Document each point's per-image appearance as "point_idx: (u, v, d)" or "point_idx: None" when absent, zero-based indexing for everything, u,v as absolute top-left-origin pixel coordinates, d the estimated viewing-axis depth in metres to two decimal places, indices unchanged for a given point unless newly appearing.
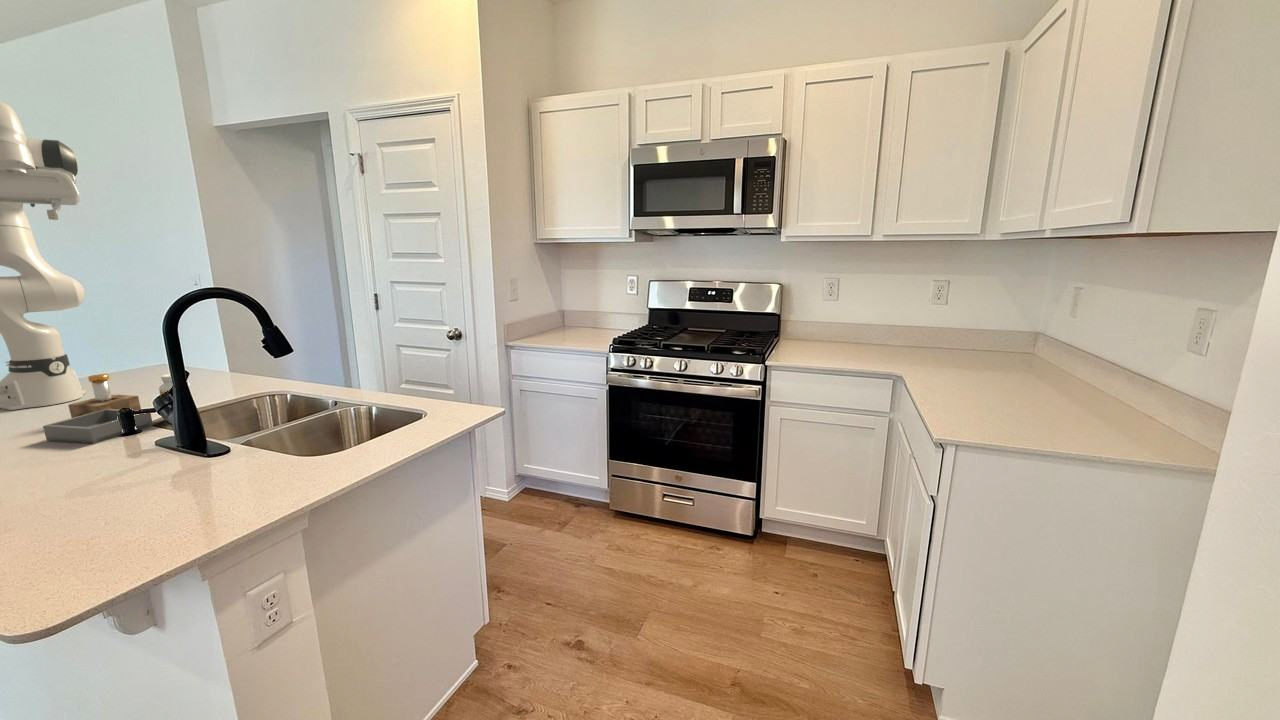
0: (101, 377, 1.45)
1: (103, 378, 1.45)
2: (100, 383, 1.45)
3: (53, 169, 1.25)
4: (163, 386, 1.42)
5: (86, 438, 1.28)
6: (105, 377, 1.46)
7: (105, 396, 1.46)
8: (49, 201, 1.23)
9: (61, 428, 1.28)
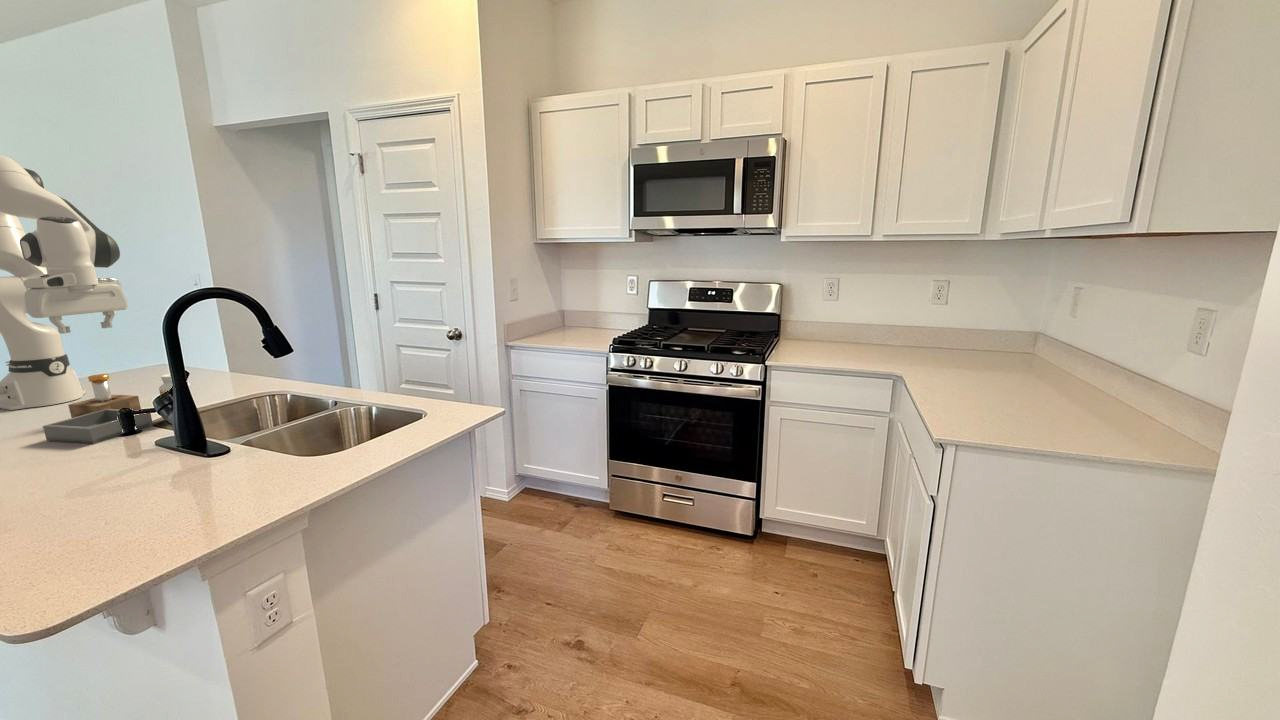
0: (101, 377, 1.45)
1: (103, 378, 1.45)
2: (100, 383, 1.45)
3: (107, 280, 1.45)
4: (163, 386, 1.42)
5: (86, 438, 1.28)
6: (105, 377, 1.46)
7: (105, 396, 1.46)
8: None
9: (61, 428, 1.28)
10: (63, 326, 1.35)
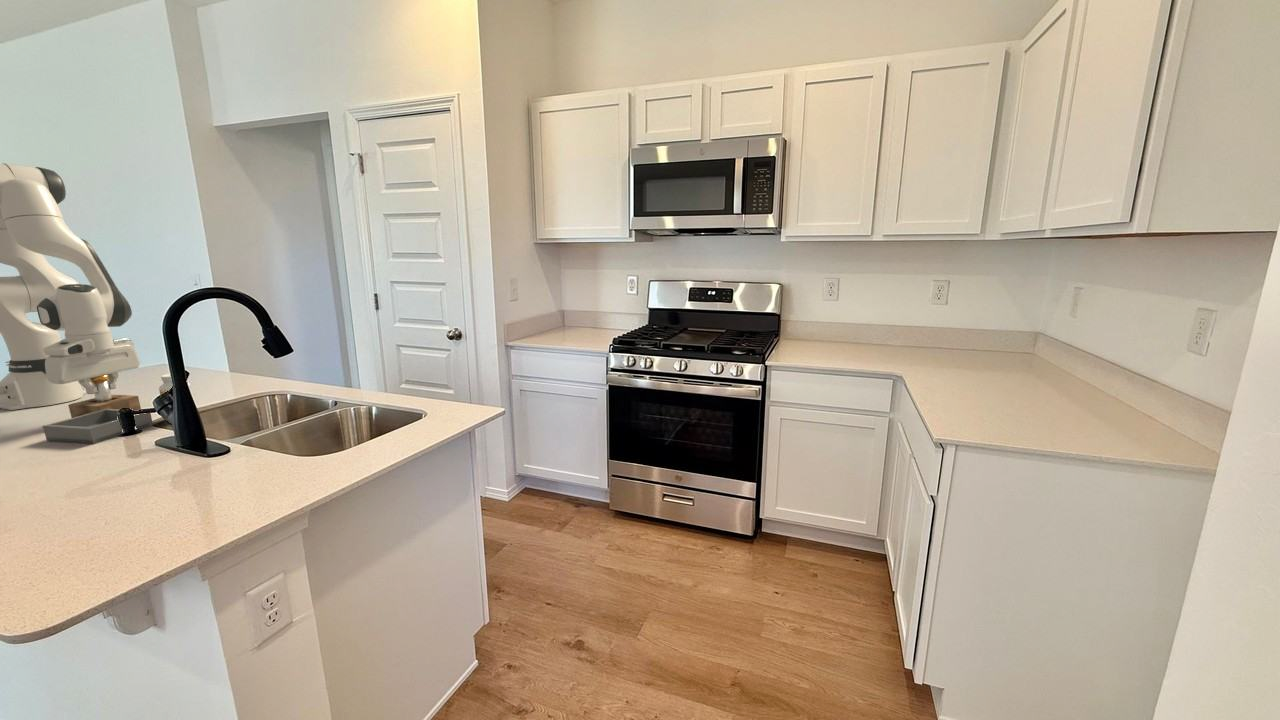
0: (101, 377, 1.45)
1: (103, 378, 1.45)
2: (100, 383, 1.45)
3: (121, 341, 1.51)
4: (163, 386, 1.42)
5: (86, 438, 1.28)
6: (105, 377, 1.46)
7: (105, 396, 1.46)
8: None
9: (61, 428, 1.28)
10: (91, 387, 1.43)
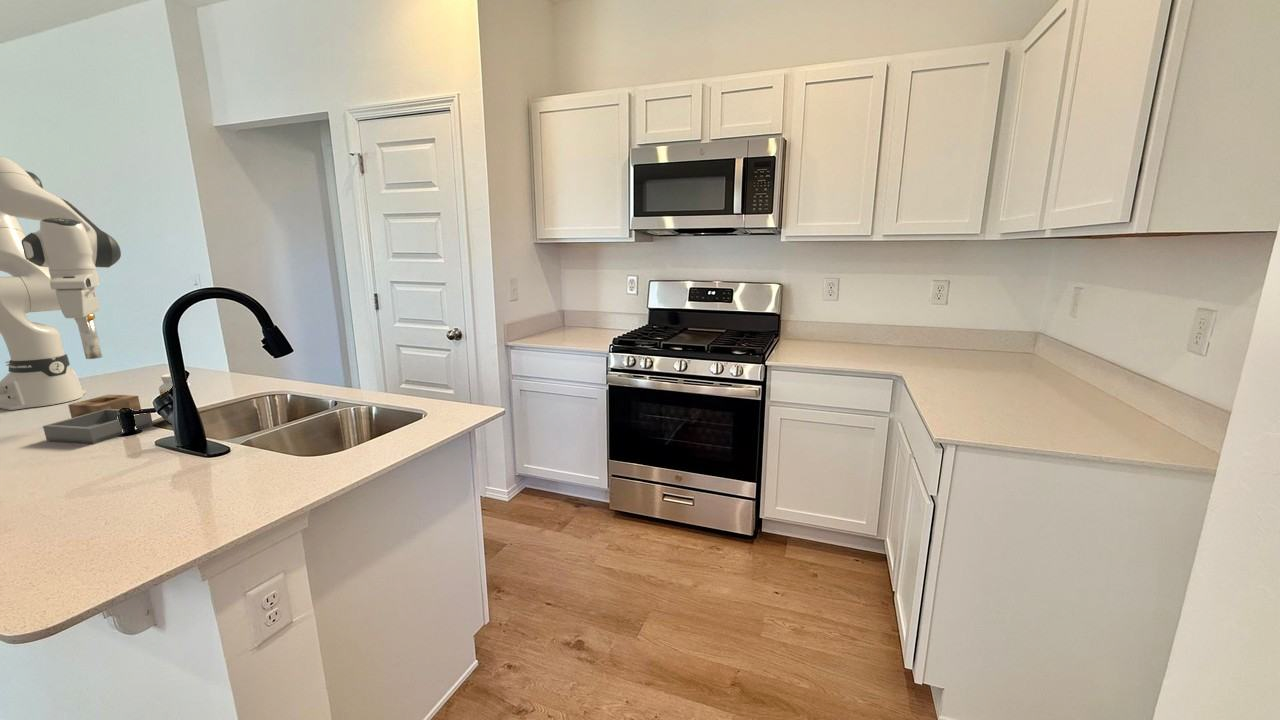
0: (93, 315, 1.42)
1: (94, 316, 1.43)
2: (91, 322, 1.42)
3: None
4: (163, 386, 1.42)
5: (86, 438, 1.28)
6: (94, 315, 1.43)
7: (96, 335, 1.43)
8: None
9: (61, 428, 1.28)
10: (88, 325, 1.41)
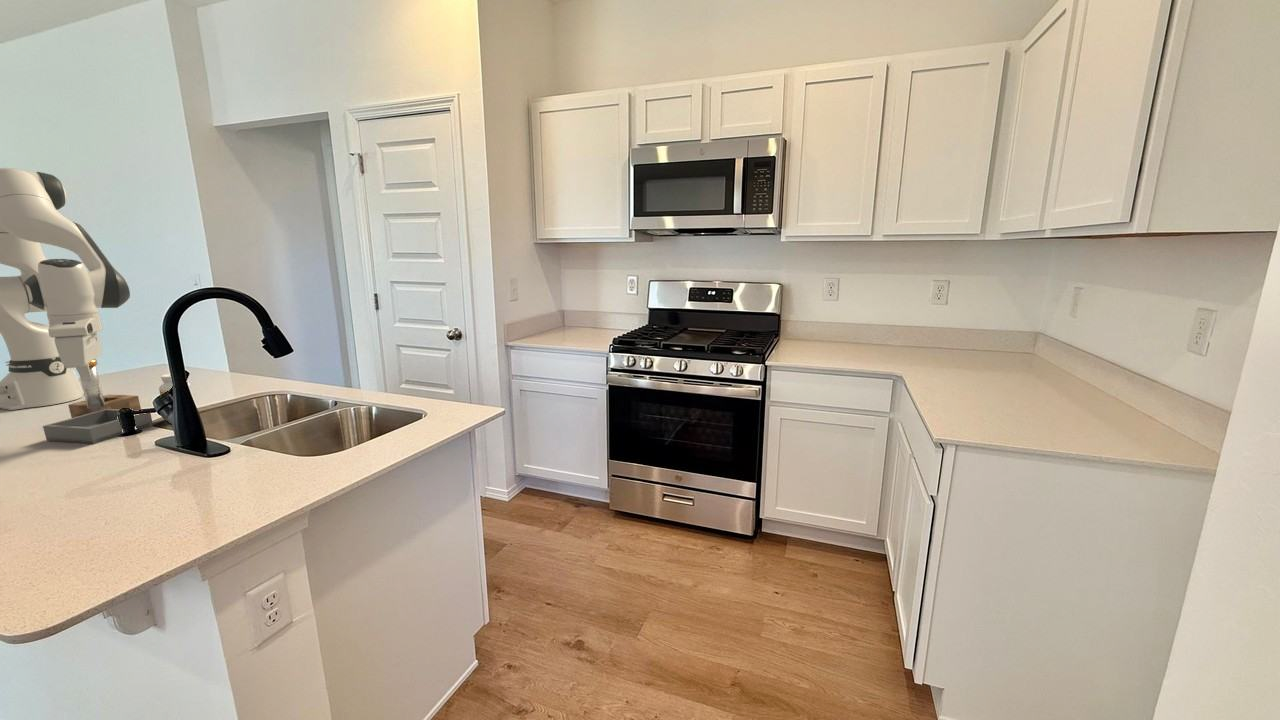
0: (95, 361, 1.32)
1: (96, 362, 1.33)
2: (93, 368, 1.32)
3: None
4: (163, 386, 1.42)
5: (86, 438, 1.28)
6: None
7: (98, 383, 1.33)
8: None
9: (61, 428, 1.28)
10: None
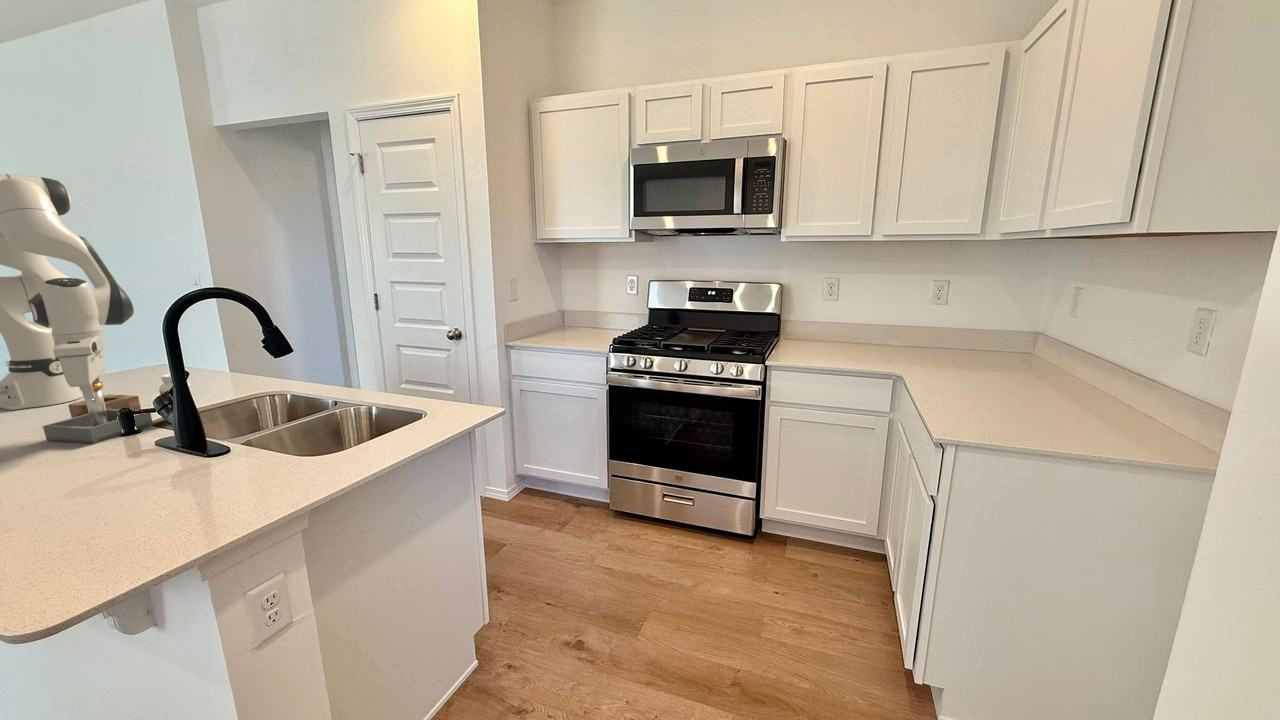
0: (101, 384, 1.33)
1: (102, 385, 1.34)
2: (99, 392, 1.33)
3: None
4: (163, 386, 1.42)
5: (86, 438, 1.28)
6: (102, 384, 1.34)
7: (104, 406, 1.35)
8: None
9: (61, 428, 1.28)
10: (93, 391, 1.31)
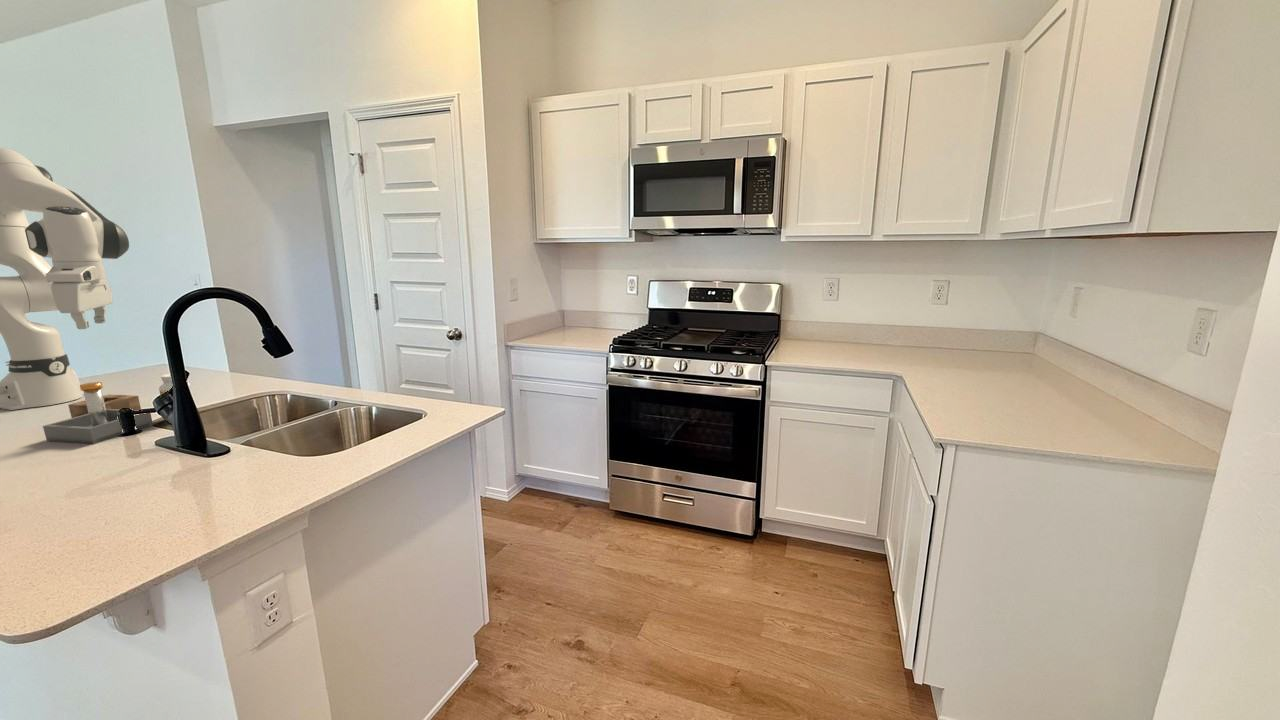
0: (100, 384, 1.34)
1: (101, 385, 1.34)
2: (99, 392, 1.33)
3: None
4: (163, 386, 1.42)
5: (86, 438, 1.28)
6: None
7: (103, 405, 1.35)
8: None
9: (61, 428, 1.28)
10: (85, 321, 1.31)
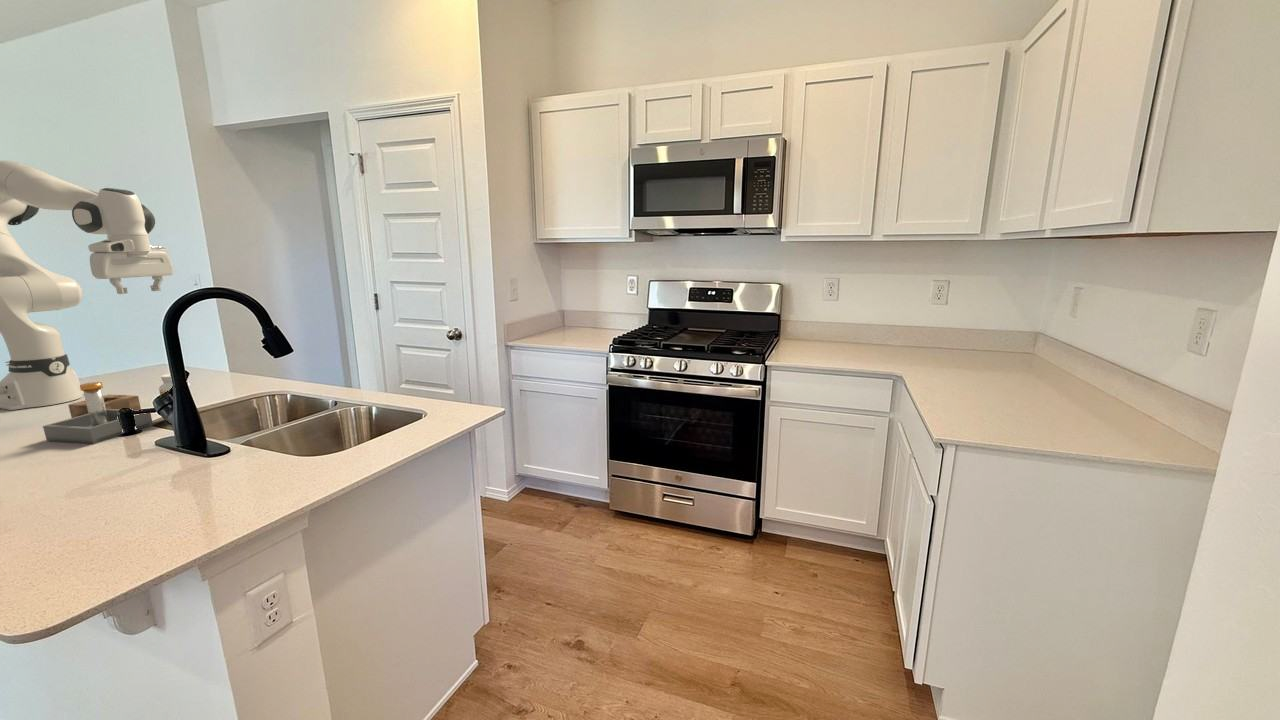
0: (100, 384, 1.34)
1: (101, 385, 1.34)
2: (99, 392, 1.33)
3: (157, 247, 1.60)
4: (163, 386, 1.42)
5: (86, 438, 1.28)
6: None
7: (103, 405, 1.35)
8: None
9: (61, 428, 1.28)
10: (122, 287, 1.51)
